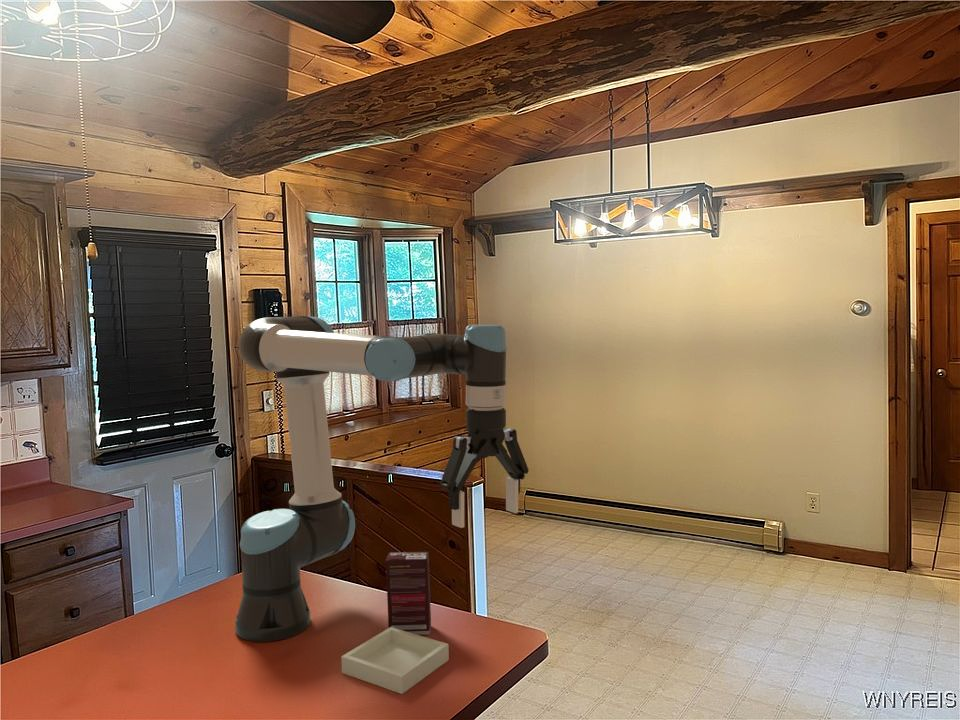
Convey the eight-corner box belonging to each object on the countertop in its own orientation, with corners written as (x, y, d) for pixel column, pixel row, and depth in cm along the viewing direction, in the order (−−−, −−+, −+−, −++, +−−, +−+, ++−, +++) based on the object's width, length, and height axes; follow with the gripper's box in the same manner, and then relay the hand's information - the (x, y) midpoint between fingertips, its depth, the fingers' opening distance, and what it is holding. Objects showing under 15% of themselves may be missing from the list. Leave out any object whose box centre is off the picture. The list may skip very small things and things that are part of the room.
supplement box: (431, 624, 151) (429, 550, 150) (430, 635, 146) (428, 559, 145) (390, 625, 151) (388, 551, 150) (387, 636, 146) (385, 559, 145)
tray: (341, 672, 132) (341, 656, 132) (391, 642, 144) (390, 626, 144) (402, 694, 125) (401, 676, 124) (448, 659, 136) (448, 643, 136)
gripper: (445, 417, 124) (446, 537, 126) (546, 403, 140) (546, 510, 142) (419, 411, 130) (420, 527, 132) (519, 399, 146) (519, 501, 148)
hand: (485, 518), depth 137 cm, fingers open, 13 cm apart
